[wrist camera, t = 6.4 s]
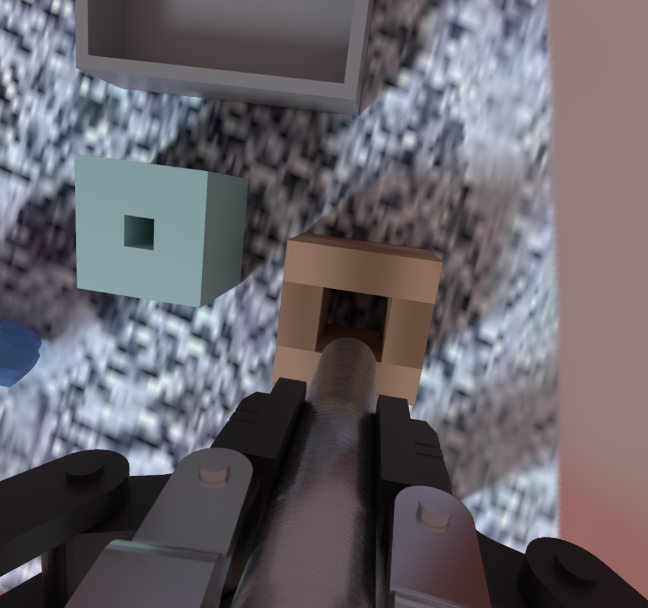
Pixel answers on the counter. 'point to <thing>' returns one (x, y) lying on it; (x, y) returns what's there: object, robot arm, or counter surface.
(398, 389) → the walnut block
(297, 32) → the tray
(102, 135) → the counter surface
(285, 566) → the rod
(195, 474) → the robot arm
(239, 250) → the teal block
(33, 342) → the grapes
